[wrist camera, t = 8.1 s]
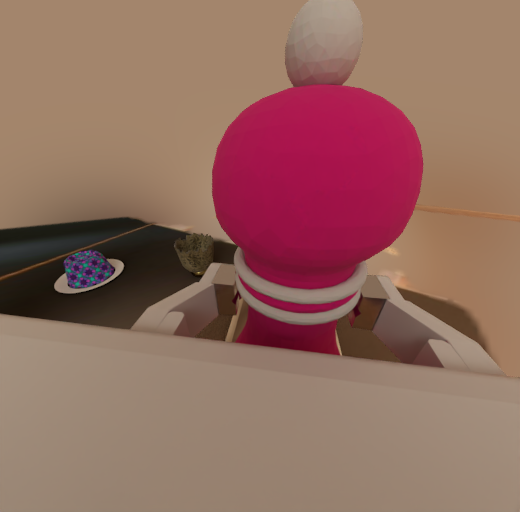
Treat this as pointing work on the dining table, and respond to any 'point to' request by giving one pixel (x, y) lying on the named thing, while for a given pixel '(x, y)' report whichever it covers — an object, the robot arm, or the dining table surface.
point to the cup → (195, 253)
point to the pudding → (87, 271)
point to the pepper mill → (313, 186)
